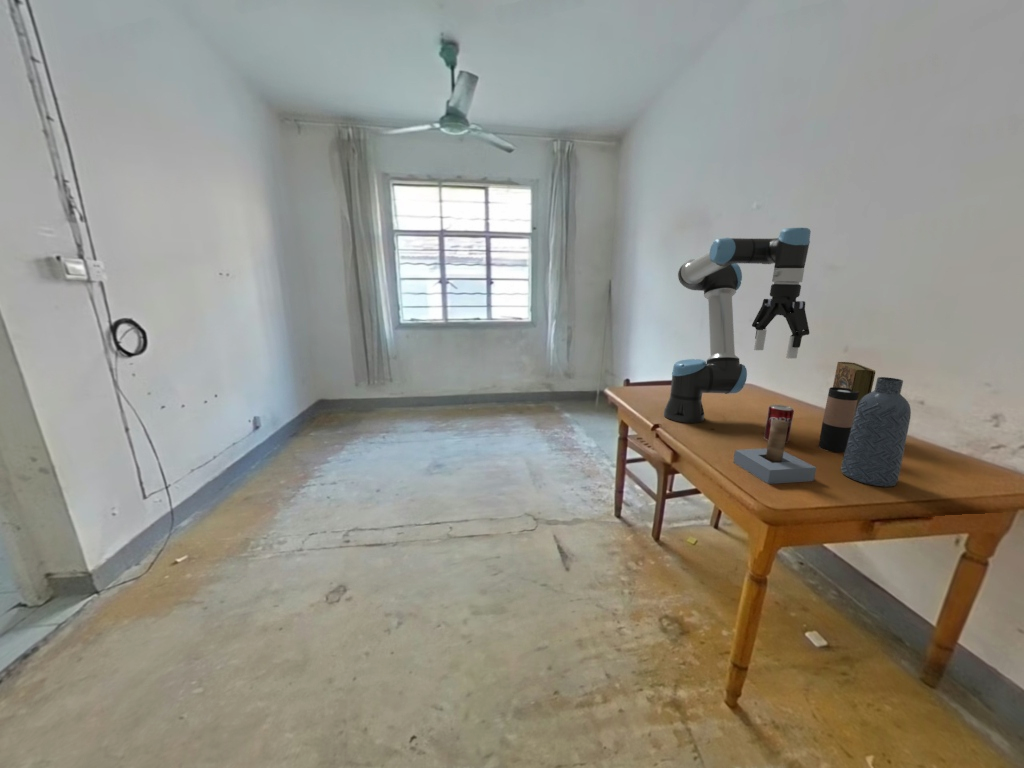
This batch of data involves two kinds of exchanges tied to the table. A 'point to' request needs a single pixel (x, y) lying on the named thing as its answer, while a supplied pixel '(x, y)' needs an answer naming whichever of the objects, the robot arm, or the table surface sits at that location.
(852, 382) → the book
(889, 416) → the vase
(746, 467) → the socket block
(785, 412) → the soda can
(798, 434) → the table surface
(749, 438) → the table surface
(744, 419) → the table surface
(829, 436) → the travel mug
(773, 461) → the peg
